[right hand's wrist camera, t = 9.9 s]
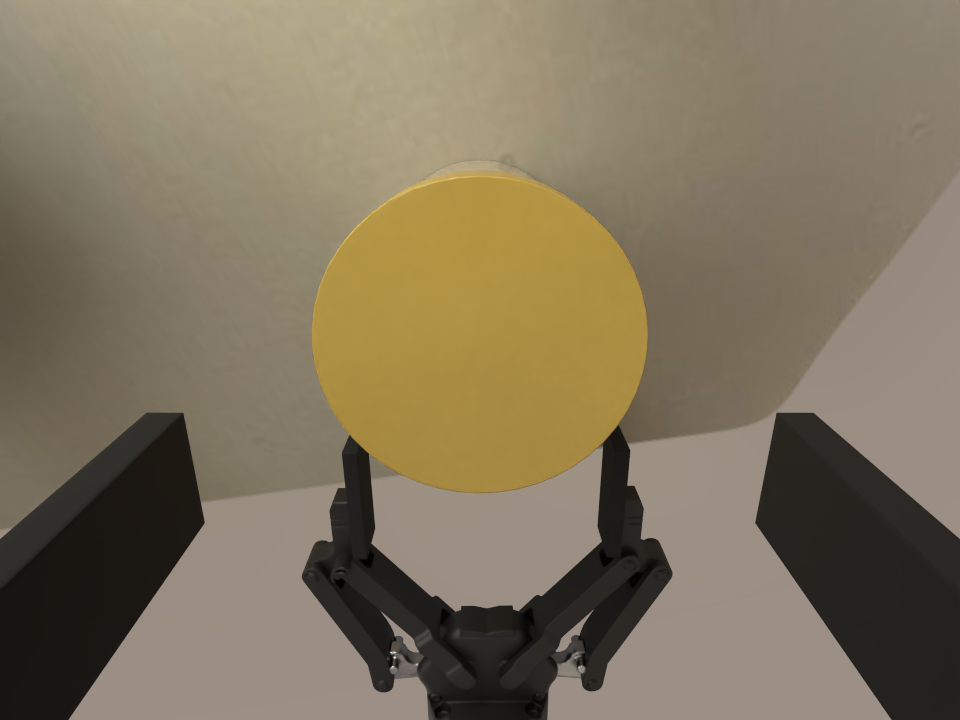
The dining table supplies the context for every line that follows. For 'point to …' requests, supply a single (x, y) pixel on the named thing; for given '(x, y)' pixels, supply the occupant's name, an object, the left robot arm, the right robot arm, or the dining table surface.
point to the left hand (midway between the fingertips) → (485, 437)
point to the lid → (479, 332)
